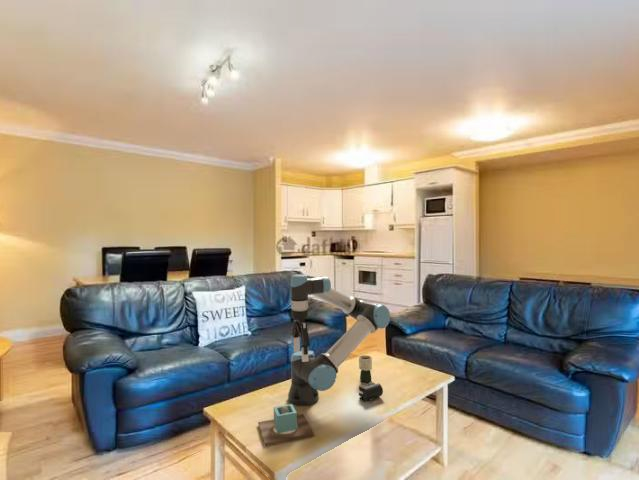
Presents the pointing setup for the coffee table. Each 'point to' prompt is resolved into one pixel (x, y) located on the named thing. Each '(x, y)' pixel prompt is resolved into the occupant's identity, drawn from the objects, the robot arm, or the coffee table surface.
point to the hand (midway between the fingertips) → (300, 356)
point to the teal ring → (285, 419)
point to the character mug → (365, 367)
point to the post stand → (274, 438)
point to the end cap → (370, 391)
